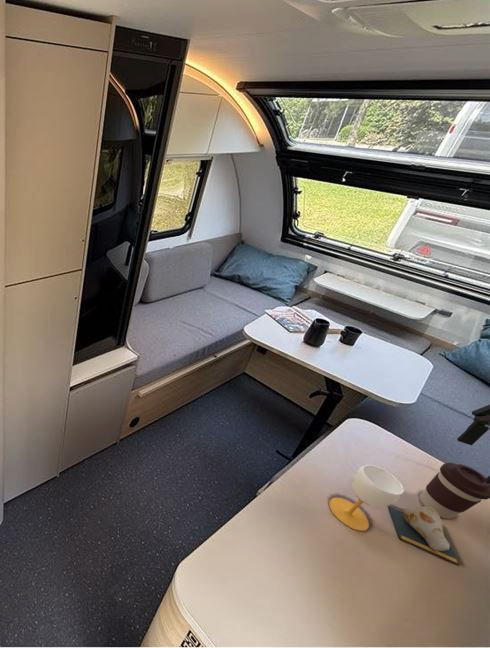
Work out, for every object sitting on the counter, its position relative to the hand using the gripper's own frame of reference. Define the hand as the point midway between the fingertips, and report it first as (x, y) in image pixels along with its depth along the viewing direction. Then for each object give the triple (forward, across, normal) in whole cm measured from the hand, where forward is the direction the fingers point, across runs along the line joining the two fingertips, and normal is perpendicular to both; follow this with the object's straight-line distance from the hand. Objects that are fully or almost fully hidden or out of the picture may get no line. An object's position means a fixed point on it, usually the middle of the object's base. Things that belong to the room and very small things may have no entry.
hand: (477, 462), depth 89 cm
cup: (+23, +11, -19) cm, 32 cm away
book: (+23, +8, -2) cm, 24 cm away
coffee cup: (+23, -5, +5) cm, 24 cm away
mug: (+23, +8, -2) cm, 24 cm away
